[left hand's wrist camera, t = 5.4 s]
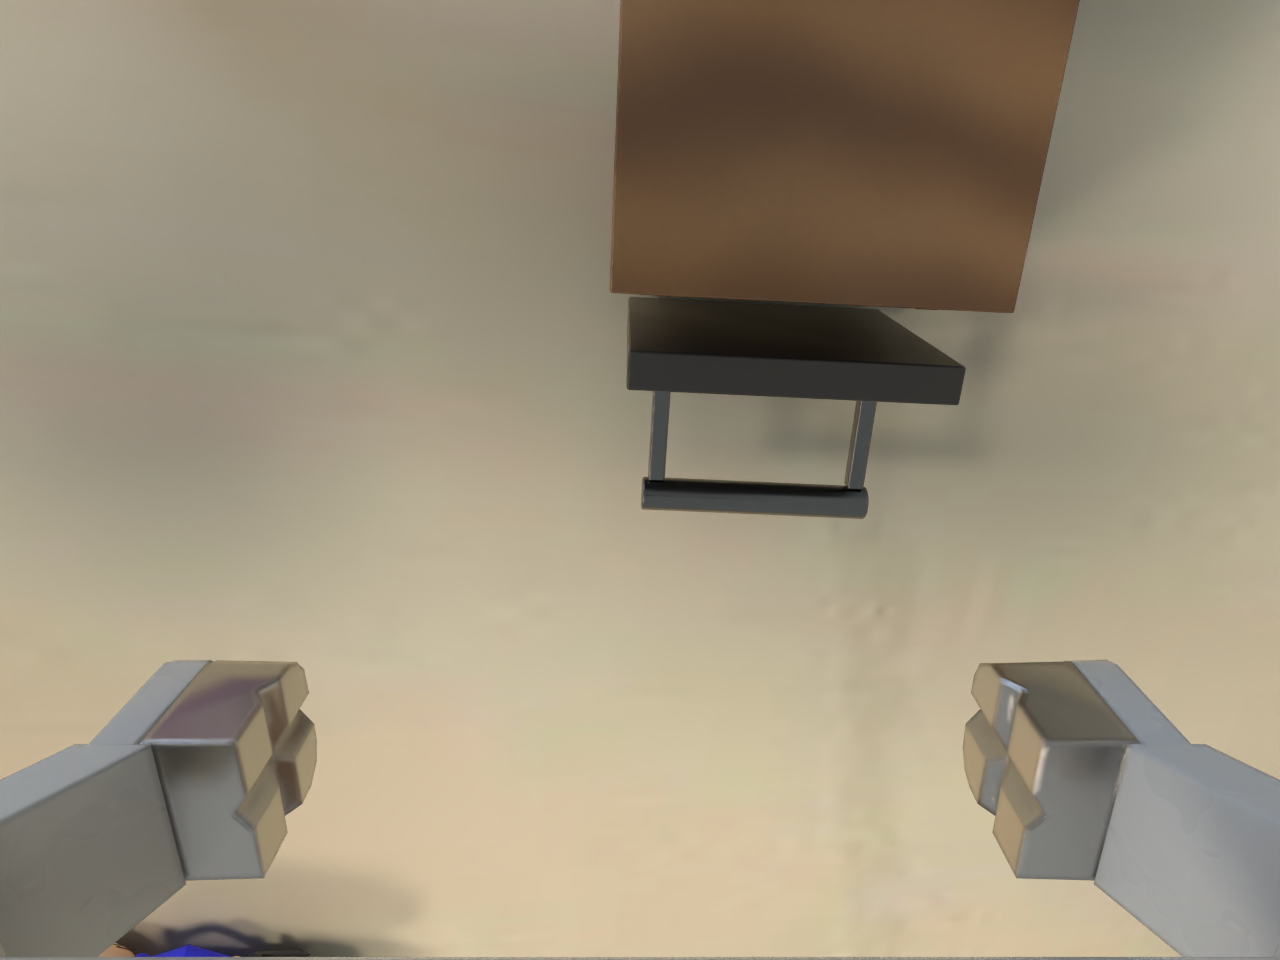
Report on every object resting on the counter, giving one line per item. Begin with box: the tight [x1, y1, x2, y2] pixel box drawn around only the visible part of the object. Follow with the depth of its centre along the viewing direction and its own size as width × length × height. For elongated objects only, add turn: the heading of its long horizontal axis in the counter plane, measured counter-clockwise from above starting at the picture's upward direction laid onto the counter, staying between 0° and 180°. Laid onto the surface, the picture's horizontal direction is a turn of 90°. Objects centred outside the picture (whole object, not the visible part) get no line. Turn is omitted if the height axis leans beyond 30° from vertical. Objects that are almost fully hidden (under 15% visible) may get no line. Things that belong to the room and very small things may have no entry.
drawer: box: [627, 296, 965, 519], centre depth 28 cm, size 23×10×10 cm, turn 177°
